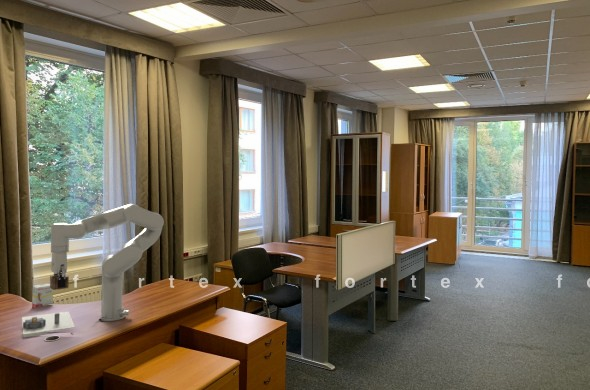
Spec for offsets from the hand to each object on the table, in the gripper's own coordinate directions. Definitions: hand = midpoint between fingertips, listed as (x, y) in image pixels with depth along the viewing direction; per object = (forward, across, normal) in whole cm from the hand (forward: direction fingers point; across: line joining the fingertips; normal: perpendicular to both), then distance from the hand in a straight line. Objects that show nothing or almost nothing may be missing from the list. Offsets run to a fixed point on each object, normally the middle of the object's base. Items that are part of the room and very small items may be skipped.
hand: (59, 285), depth 206 cm
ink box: (+18, -30, -1) cm, 35 cm away
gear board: (+18, +2, -5) cm, 18 cm away
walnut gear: (+1, 0, 0) cm, 1 cm away
